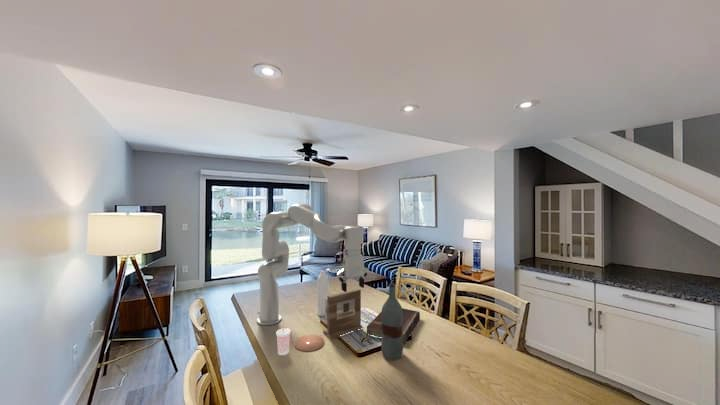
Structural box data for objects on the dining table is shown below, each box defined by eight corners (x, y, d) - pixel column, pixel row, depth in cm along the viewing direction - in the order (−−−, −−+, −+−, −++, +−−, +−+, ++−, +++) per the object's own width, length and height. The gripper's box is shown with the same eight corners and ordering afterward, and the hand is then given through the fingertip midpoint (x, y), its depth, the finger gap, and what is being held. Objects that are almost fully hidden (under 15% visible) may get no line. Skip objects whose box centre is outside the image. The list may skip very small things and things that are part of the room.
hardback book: (404, 345, 124) (404, 334, 124) (366, 336, 132) (366, 326, 132) (419, 320, 150) (419, 311, 150) (387, 313, 158) (387, 305, 158)
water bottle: (323, 317, 152) (323, 272, 152) (314, 314, 156) (314, 270, 156) (333, 312, 159) (333, 269, 159) (325, 309, 163) (325, 267, 163)
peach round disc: (288, 345, 124) (288, 343, 124) (309, 333, 134) (309, 332, 134) (309, 354, 116) (309, 352, 116) (329, 341, 127) (329, 340, 127)
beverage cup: (285, 346, 122) (285, 315, 122) (293, 351, 119) (293, 319, 118) (273, 352, 118) (272, 320, 118) (281, 357, 114) (281, 324, 114)
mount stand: (321, 331, 136) (321, 292, 136) (352, 322, 146) (352, 285, 146) (330, 339, 128) (330, 298, 128) (362, 329, 139) (362, 290, 138)
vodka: (387, 363, 110) (387, 288, 110) (377, 351, 118) (377, 282, 118) (407, 357, 114) (407, 285, 113) (396, 346, 122) (396, 279, 122)
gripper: (340, 256, 121) (341, 294, 121) (372, 251, 131) (372, 287, 131) (332, 253, 127) (333, 290, 127) (363, 249, 137) (363, 283, 137)
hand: (353, 288), depth 129 cm, fingers open, 9 cm apart
